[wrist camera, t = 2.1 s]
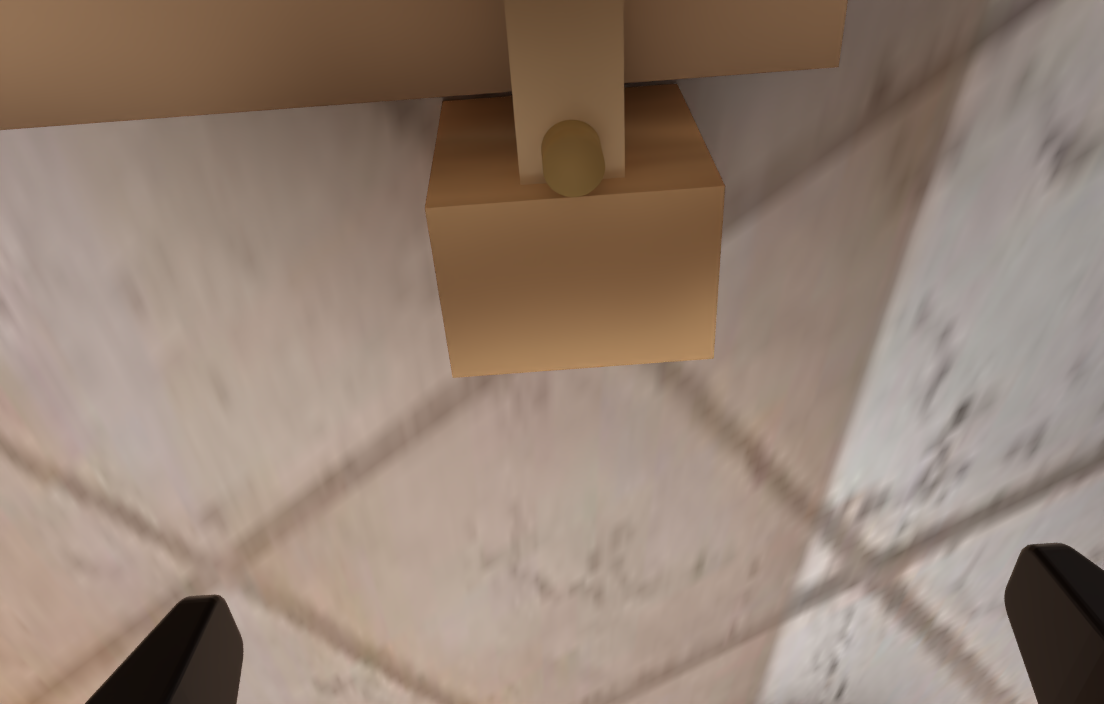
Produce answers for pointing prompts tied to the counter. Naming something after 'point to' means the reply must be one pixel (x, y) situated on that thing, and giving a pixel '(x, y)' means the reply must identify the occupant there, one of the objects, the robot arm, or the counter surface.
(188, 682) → the robot arm
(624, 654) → the counter surface
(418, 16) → the plank
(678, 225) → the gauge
